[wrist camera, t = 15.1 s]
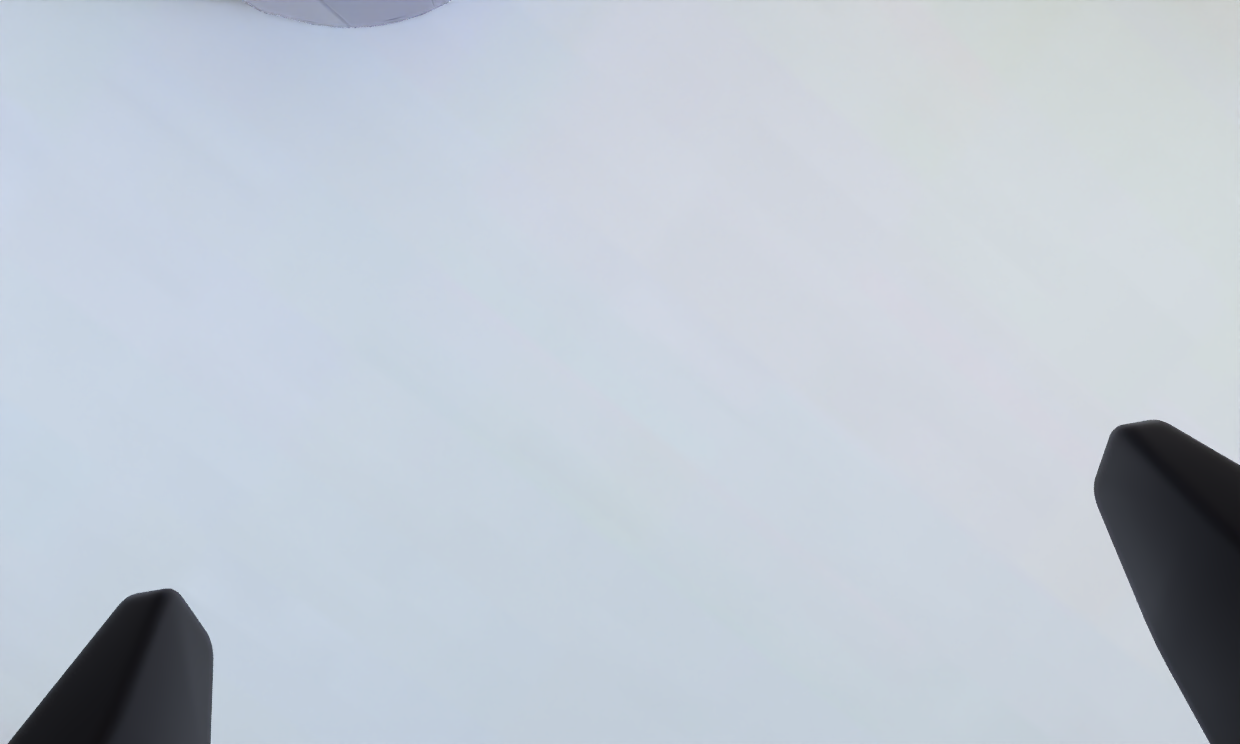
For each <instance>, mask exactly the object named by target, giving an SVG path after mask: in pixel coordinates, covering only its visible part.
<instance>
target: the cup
mask: <svg viewBox="0 0 1240 744" xmlns="http://www.w3.org/2000/svg"><path fill="white" fill-rule="evenodd" d="M242 1H244V2H245V3H247V4H249V5H250V6H252V7H254V8H255V9H257V10H259V11H263V12H264V13H266V14H272V15H278V16H281V17H284V18H288V19H292V20H296V21H300V22H304V23H308V24H312V25H321V26H330V27H339V28H351V27H353V28H356V27H372V26H378V25H385V24H391V23H397V22H400V21H403V20H406V19H410V18H413V17H416V16H419V15H423V14H425V13H427V12H429V11H431V10H433V9H435V8H437V7H440V6H442V5H444V4H446V3H448V2H449V1H451V0H242Z"/></svg>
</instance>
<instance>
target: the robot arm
mask: <svg viewBox="0 0 1240 744" xmlns="http://www.w3.org/2000/svg"><path fill="white" fill-rule="evenodd" d="M1094 494H1095V499H1096V503H1097V506H1098V509H1099V511H1100V513H1101V516H1102V518H1103V521H1104V523H1105V525H1106V528H1107V530H1108V533H1109V535H1110V537H1111V540H1112V542H1113V545H1114V547H1115V549H1116V552H1117V554H1118V557H1119V559H1120V561H1121V564H1122V566H1123V569H1124V571H1125V573H1126V576H1127V578H1128V581H1129V583H1130V585H1131V588H1132V590H1133V593H1134V595H1135V597H1136V600H1137V602H1138V605H1139V607H1140V609H1141V612H1142V614H1143V617H1144V619H1145V621H1146V624H1147V626H1148V628H1149V630H1150V632H1151V635H1152V637H1153V639H1154V641H1155V643H1156V645H1157V647H1158V649H1159V651H1160V653H1161V655H1162V657H1163V659H1164V661H1165V663H1166V665H1167V666H1168V668H1169V670H1170V672H1171V674H1172V676H1173V677H1174V679H1175V681H1176V683H1177V685H1178V686H1179V688H1180V690H1181V692H1182V694H1183V695H1184V697H1185V699H1186V701H1187V703H1188V704H1189V706H1190V708H1191V710H1192V712H1193V713H1194V715H1195V717H1196V719H1197V721H1198V723H1199V724H1200V726H1201V728H1202V730H1203V732H1204V733H1205V735H1206V737H1207V739H1208V741H1209V742H1210V744H1240V465H1238V464H1237V463H1235V462H1233V461H1232V460H1230V459H1228V458H1226V457H1225V456H1223V455H1221V454H1220V453H1218V452H1216V451H1214V450H1213V449H1211V448H1209V447H1208V446H1206V445H1204V444H1202V443H1201V442H1199V441H1197V440H1196V439H1194V438H1192V437H1191V436H1189V435H1187V434H1185V433H1184V432H1182V431H1180V430H1179V429H1177V428H1175V427H1173V426H1172V425H1170V424H1168V423H1166V422H1163V421H1160V420H1147V421H1142V422H1136V423H1130V424H1124V425H1120V426H1118V427H1117V428H1115V429H1114V430H1113V431H1112V433H1111V435H1110V437H1109V440H1108V443H1107V446H1106V448H1105V451H1104V454H1103V457H1102V460H1101V463H1100V466H1099V469H1098V472H1097V474H1096V477H1095V482H1094ZM212 683H213V649H212V644H211V641H210V638H209V636H208V634H207V632H206V631H205V629H204V628H203V626H202V625H201V623H200V622H199V621H198V619H197V618H196V616H195V615H194V613H193V612H192V610H191V609H190V608H189V606H188V605H187V603H186V602H185V600H184V599H183V598H182V596H181V595H180V594H179V593H178V592H177V591H175V590H173V589H160V590H155V591H149V592H143V593H137V594H134V595H131V596H129V597H127V598H126V599H125V600H124V601H122V602H121V603H120V604H119V606H118V607H117V608H116V609H115V611H114V612H113V613H112V614H111V616H110V617H109V618H108V619H107V621H106V622H105V623H104V624H103V626H102V627H101V628H100V629H99V631H98V632H97V633H96V634H95V635H94V637H93V638H92V639H91V640H90V642H89V643H88V644H87V645H86V647H85V648H84V649H83V650H82V652H81V653H80V654H79V655H78V657H77V658H76V659H75V660H74V662H73V663H72V664H71V665H70V667H69V668H68V669H67V670H66V672H65V673H64V674H63V675H62V677H61V678H60V679H59V680H58V682H57V683H56V684H55V685H54V687H53V688H52V689H51V690H50V692H49V693H48V694H47V695H46V697H45V698H44V699H43V700H42V702H41V703H40V704H39V705H38V707H37V708H36V709H35V710H34V712H33V713H32V714H31V715H30V717H29V718H28V719H27V720H26V722H25V723H24V724H23V725H22V727H21V728H20V729H19V730H18V732H17V733H16V734H15V735H14V737H13V738H12V739H11V740H10V741H9V743H8V744H210V741H211V712H212Z"/></svg>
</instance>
